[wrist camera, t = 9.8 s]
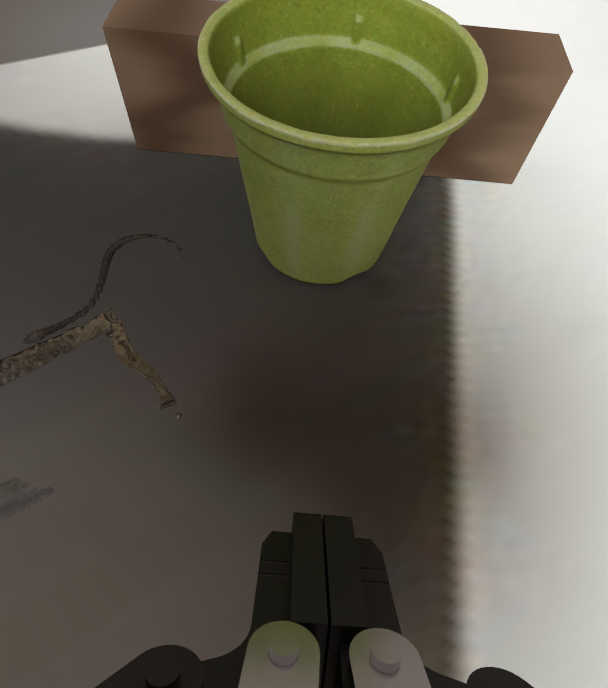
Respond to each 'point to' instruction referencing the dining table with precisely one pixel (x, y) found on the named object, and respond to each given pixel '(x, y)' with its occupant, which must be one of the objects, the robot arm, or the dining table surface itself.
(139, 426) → the dining table surface
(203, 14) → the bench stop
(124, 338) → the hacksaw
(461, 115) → the plant pot
